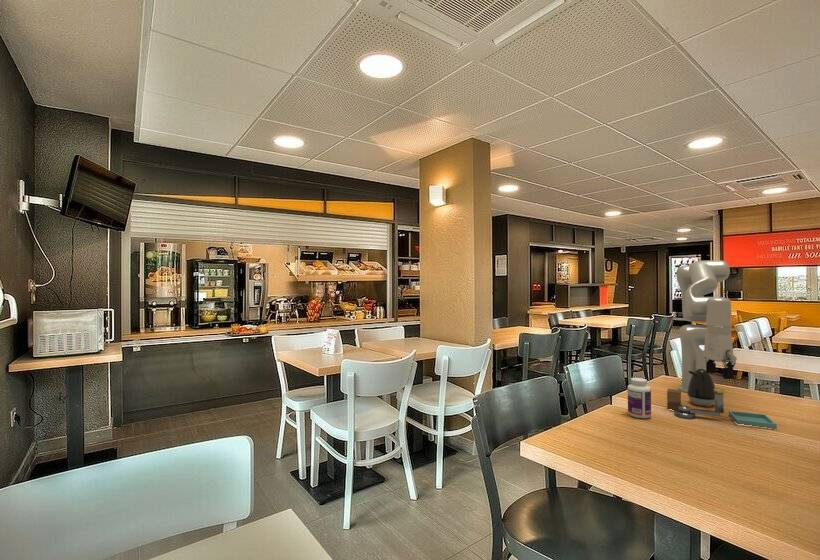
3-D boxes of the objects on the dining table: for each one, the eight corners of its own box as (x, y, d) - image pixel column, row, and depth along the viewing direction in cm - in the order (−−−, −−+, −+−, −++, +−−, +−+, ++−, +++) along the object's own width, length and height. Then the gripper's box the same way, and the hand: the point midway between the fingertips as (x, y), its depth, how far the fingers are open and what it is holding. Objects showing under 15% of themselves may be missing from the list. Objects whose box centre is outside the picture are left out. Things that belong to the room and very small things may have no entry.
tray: (728, 416, 159) (728, 410, 159) (765, 420, 154) (765, 414, 154) (737, 425, 149) (737, 419, 149) (776, 430, 144) (776, 424, 144)
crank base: (672, 412, 164) (672, 408, 164) (693, 414, 161) (693, 410, 161) (675, 417, 158) (675, 413, 158) (697, 420, 155) (697, 416, 155)
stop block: (680, 412, 164) (680, 392, 164) (667, 410, 167) (667, 390, 167) (681, 409, 168) (680, 390, 168) (668, 407, 170) (667, 388, 170)
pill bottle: (645, 412, 164) (645, 377, 164) (655, 419, 156) (655, 382, 156) (624, 412, 165) (624, 376, 165) (633, 419, 157) (632, 381, 157)
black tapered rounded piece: (681, 400, 179) (681, 366, 179) (706, 401, 179) (705, 366, 179) (697, 408, 169) (696, 371, 169) (722, 408, 169) (722, 371, 169)
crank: (679, 412, 159) (679, 386, 159) (677, 409, 162) (677, 384, 162) (725, 417, 153) (725, 391, 152) (723, 414, 156) (722, 388, 156)
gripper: (694, 328, 164) (695, 370, 164) (723, 333, 147) (724, 380, 146) (714, 328, 163) (715, 371, 163) (745, 333, 146) (746, 381, 146)
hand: (719, 375), depth 155 cm, fingers open, 9 cm apart
